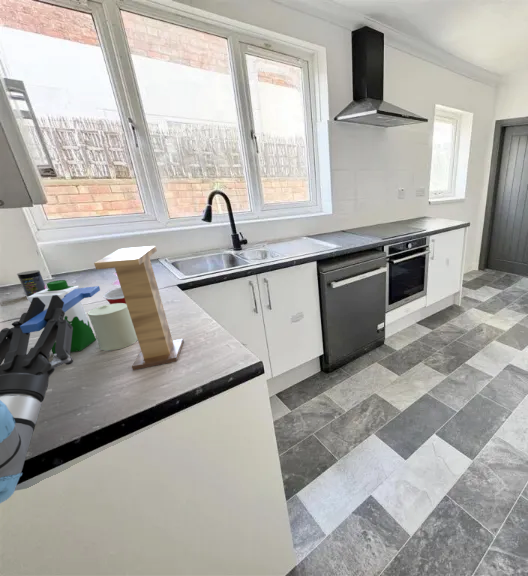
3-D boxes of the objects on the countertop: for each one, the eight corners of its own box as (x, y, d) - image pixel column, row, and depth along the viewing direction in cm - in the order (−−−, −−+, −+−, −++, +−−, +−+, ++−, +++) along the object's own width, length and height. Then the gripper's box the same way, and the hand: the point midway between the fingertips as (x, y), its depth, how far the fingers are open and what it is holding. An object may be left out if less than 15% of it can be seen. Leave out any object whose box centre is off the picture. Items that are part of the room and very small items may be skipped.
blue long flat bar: (48, 329, 61) (45, 322, 60) (13, 335, 59) (10, 327, 58) (100, 290, 83) (98, 284, 83) (76, 293, 81) (74, 287, 81)
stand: (174, 369, 81) (142, 258, 71) (127, 378, 78) (88, 263, 68) (184, 340, 96) (159, 245, 86) (145, 347, 92) (115, 248, 82)
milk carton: (101, 338, 98) (80, 278, 92) (81, 352, 90) (56, 288, 83) (69, 341, 97) (45, 280, 90) (46, 356, 88) (17, 291, 82)
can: (128, 333, 101) (117, 299, 97) (144, 339, 97) (133, 304, 93) (93, 346, 93) (80, 310, 89) (109, 353, 89) (96, 316, 85)
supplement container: (49, 294, 139) (40, 271, 135) (27, 298, 134) (17, 275, 130) (47, 291, 143) (38, 269, 139) (25, 295, 138) (16, 273, 134)
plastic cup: (105, 330, 103) (93, 297, 99) (125, 317, 113) (115, 286, 109) (141, 327, 105) (130, 294, 101) (157, 314, 115) (149, 284, 111)
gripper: (-37, 425, 52) (11, 317, 66) (80, 399, 58) (102, 305, 72) (-76, 408, 47) (-15, 294, 61) (57, 381, 53) (85, 283, 67)
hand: (48, 300), depth 66 cm, fingers closed on blue long flat bar, 2 cm apart
